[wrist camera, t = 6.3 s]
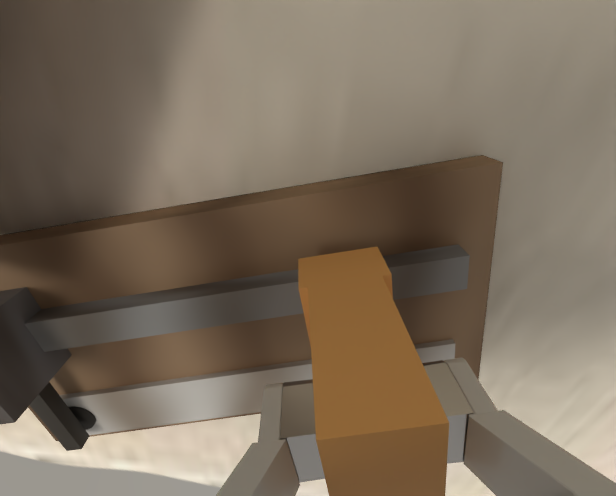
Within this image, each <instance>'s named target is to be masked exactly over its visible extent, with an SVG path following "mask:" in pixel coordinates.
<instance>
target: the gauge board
mask: <svg viewBox="0 0 616 496" xmlns="http://www.w3.org/2000/svg"><path fill="white" fill-rule="evenodd" d="M502 166H503V162H500V161H497V160H494V159H491V158H489V157H486V156H483V155H480V156H474V157H468V158H462V159H456V160H450V161H444V162H438V163H432V164H426V165H420V166H414V167H408V168H402V169H396V170H390V171H384V172H378V173H372V174H366V175H360V176H354V177H348V178H342V179H336V180H330V181H324V182H318V183H312V184H306V185H300V186H294V187H288V188H282V189H276V190H270V191H264V192H258V193H252V194H246V195H240V196H234V197H228V198H222V199H216V200H210V201H204V202H198V203H192V204H186V205H180V206H174V207H168V208H162V209H156V210H150V211H144V212H138V213H132V214H126V215H120V216H114V217H108V218H102V219H96V220H90V221H84V222H78V223H72V224H66V225H60V226H54V227H48V228H42V229H36V230H30V231H24V232H18V233H12V234H6V235H0V424H6V423H13V422H16V420H17V419H18V418H19V417H20V416H21V415H22V413H23V412H24V411H25V410H26V409H27V407H28V408H29V409H30V410H31V411H32V412H33V414H34V415H35V416H36V417H37V418H38V420H39V421H40V422H41V423H42V424H43V426H44V427H45V428H46V429H47V430H48V432H49V433H50V434H51V435H52V436H53V438H54V439H55V440H56V441H59V442H60V443H61V444H62V445H63V447H64V448H65V449H66V450H67V451H69V450H76V449H82V447H83V446H84V444H85V442H86V441H87V439H88V437H90V436H98V435H105V434H113V433H120V432H127V431H135V430H142V429H149V428H157V427H164V426H171V425H179V424H186V423H193V422H201V421H208V420H216V419H223V418H230V417H238V416H245V415H252V414H260V413H261V411H262V402H263V393H264V389H265V386H266V385H268V384H276V383H284V382H292V381H301V380H310V379H313V375H312V357H311V346H310V341H309V336H308V332H307V327H306V322H305V317H304V312H303V308H302V303H301V298H300V293H299V288H298V259H300V258H306V257H313V256H319V255H325V254H332V253H338V252H345V251H351V250H357V249H364V248H370V247H378V249H379V250H380V252H381V254H382V256H383V258H384V260H385V262H386V264H387V266H388V268H389V270H390V272H391V274H392V292H393V300H394V303H395V305H396V307H397V309H398V311H399V314H400V316H401V318H402V320H403V322H404V325H405V327H406V329H407V331H408V333H409V335H410V338H411V340H412V342H413V344H414V346H415V349H416V351H417V353H418V355H419V357H420V360H421V362H422V363H426V362H433V361H439V360H442V361H443V360H448V359H455V358H464V359H465V360H466V361H467V363H468V364H469V366H470V368H471V369H472V371H473V372H474V374H475V376H476V377H477V379H478V378H479V369H480V360H481V351H482V343H483V334H484V325H485V316H486V307H487V298H488V289H489V281H490V272H491V263H492V254H493V245H494V236H495V228H496V219H497V210H498V201H499V192H500V183H501V175H502Z"/></svg>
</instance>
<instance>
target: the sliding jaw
mask: <svg viewBox="0 0 616 496" xmlns="http://www.w3.org/2000/svg"><path fill="white" fill-rule="evenodd" d="M298 288H299V293H300V298H301V303H302V308H303V312H304V317H305V322H306V327H307V332H308V336H309V341H310V346H311V357H312V375H313V394H314V412H315V430H316V442H317V446H318V451H319V455H320V459H321V463H322V467H323V471H324V475H325V480H326V484H327V488H328V492H329V496H445V487H446V470H447V454H448V437H449V421H448V419H447V417H446V414H445V412H444V410H443V408H442V406H441V403H440V401H439V399H438V397H437V395H436V392H435V390H434V388H433V386H432V384H431V381H430V379H429V377H428V375H427V373H426V371H425V368H424V366H423V364H422V362H421V360H420V357H419V355H418V353H417V351H416V349H415V346H414V344H413V342H412V340H411V338H410V335H409V333H408V331H407V329H406V327H405V325H404V322H403V320H402V318H401V316H400V314H399V311H398V309H397V307H396V305H395V303H394V300H393V292H392V274H391V272H390V270H389V268H388V266H387V264H386V262H385V260H384V258H383V256H382V254H381V252H380V250H379V249H378V247H370V248H364V249H357V250H351V251H345V252H338V253H332V254H325V255H319V256H313V257H306V258H300V259H298Z"/></svg>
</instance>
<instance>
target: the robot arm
mask: <svg viewBox="0 0 616 496" xmlns="http://www.w3.org/2000/svg"><path fill="white" fill-rule="evenodd" d="M422 364H423V366H424V368H425V371H426V373H427V375H428V377H429V379H430V381H431V384H432V386H433V388H434V390H435V392H436V395H437V397H438V399H439V401H440V403H441V406H442V408H443V410H444V412H445V414H446V417H447V419H448V421H449V437H448V454H447V463H456V462H464V464H465V465H466V466H467V467H468V468H469V469H470V470H471V471H472V472H473V473H474V474H475V475H476V476H477V477H478V478H479V479H480V480H481V481H482V482H483V483H484V484H485V485H486V486H487V487H488V488H489V489H490V490H491V491H492V492H493V493H494V494H495V495H496V496H616V483H614V482H613V481H611V480H610V479H608V478H607V477H605V476H604V475H602V474H601V473H599V472H598V471H596V470H595V469H593V468H591V467H590V466H588V465H587V464H585V463H584V462H582V461H581V460H579V459H578V458H576V457H575V456H573V455H572V454H570V453H569V452H567V451H565V450H564V449H562V448H561V447H559V446H558V445H556V444H555V443H553V442H552V441H550V440H549V439H547V438H546V437H544V436H543V435H541V434H539V433H538V432H536V431H535V430H533V429H532V428H530V427H529V426H527V425H526V424H524V423H523V422H521V421H520V420H518V419H517V418H515V417H513V416H512V415H510V414H509V413H507V412H506V411H504V410H502V411H498V410H497V409H496V407H495V406H494V404H493V402H492V401H491V399H490V398H489V396H488V395H487V393H486V391H485V390H484V388H483V387H482V385H481V383H480V382H479V380H478V379H477V377H476V376H475V374H474V372H473V371H472V369H471V368H470V366H469V364H468V363H467V361H466V360H465V359H464V358H455V359H448V360H443V361H442V360H439V361H433V362H426V363H422ZM324 478H325V475H324V471H323V467H322V463H321V459H320V455H319V451H318V446H317V442H316V430H315V412H314V394H313V379H310V380H301V381H292V382H284V383H276V384H268V385H266V386H265V389H264V393H263V402H262V411H261V420H260V429H259V438H258V443H252V445H251V446H250V448H249V449H248V451H247V452H246V453H245V455H244V456H243V458H242V459H241V461H240V462H239V463H238V465H237V466H236V468H235V469H234V471H233V472H232V473H231V475H230V476H229V478H228V479H227V481H226V482H225V483H224V485H223V486H222V488H221V489H220V491H219V492H218V493H217V495H216V496H295V495H296V492H297V490H298V488H299V486H300V484H299V482H305V481H312V480H318V479H324Z"/></svg>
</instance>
